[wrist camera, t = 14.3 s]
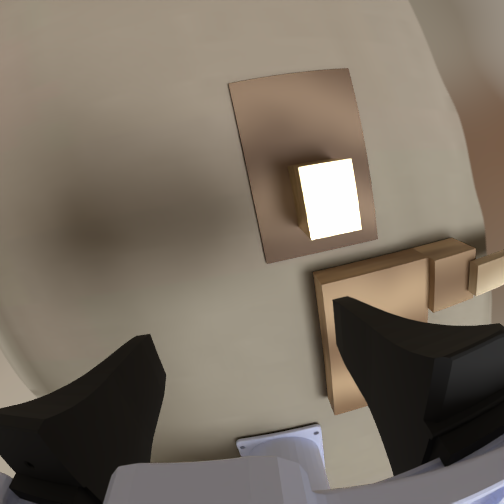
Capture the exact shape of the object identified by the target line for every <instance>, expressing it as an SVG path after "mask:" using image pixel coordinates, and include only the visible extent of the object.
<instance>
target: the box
mask: <svg viewBox="0 0 504 504" xmlns="http://www.w3.org/2000/svg"><path fill="white" fill-rule="evenodd" d="M475 259H476V248H474V247H471V246H469V245H467V244H465V243H463V242H460V241H458V240H456V239H453V238H449V239H445V240H441V241H437V242H434V243H430V244H426V245H422V246H418V247H414V248H410V249H406V250H402V251H399V252H395V253H391V254H387V255H382V256H378V257H374V258H370V259H366V260H362V261H358V262H354V263H349V264H345V265H341V266H337V267H332V268H328V269H324V270H319V271H315V272H313V277H314V284H315V291H316V299H317V306H318V313H319V321H320V329H321V337H322V346H323V354H324V363H325V373H326V383H327V393H328V399H329V401H330V404H331V407H332V409H333V412H334V415H338V414H341V413H345V412H348V411H352V410H355V409H358V408H362V407H365V406H368V404H367V403H366V401H365V399H364V397H363V395H362V394H361V392H360V390H359V389H358V387H357V385H356V383H355V382H354V380H353V378H352V376H351V375H350V373H349V371H348V370H347V368H346V366H345V364H344V362H343V360H342V357H341V355H340V352H339V350H338V347H337V345H336V335H335V323H334V312H333V301H332V300H333V299H337V298H341V297H345V296H349V297H352V298H354V299H357V300H359V301H362V302H364V303H366V304H369V305H371V306H373V307H376V308H378V309H381V310H383V311H386V312H389V313H391V314H394V315H397V316H401V317H404V318H407V319H411V320H416V321H420V322H425V323H427V320H428V308H429V309H430V310H431V311H432V312H433V313H434V312H437V311H440V310H442V309H445V308H448V307H450V306H453V305H456V304H458V303H461V302H463V301H466V300H468V299H471V298H473V294H472V293H470V292H469V291H468V287H469V272H470V261H473V260H475Z"/></svg>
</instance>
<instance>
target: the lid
mask: <svg viewBox="0 0 504 504" xmlns="http://www.w3.org/2000/svg"><path fill="white" fill-rule="evenodd" d="M229 88H230V93H231V97H232V102H233V106H234V111H235V116H236V120H237V125H238V129H239V134H240V139H241V143H242V148H243V152H244V157H245V162H246V167H247V171H248V176H249V181H250V185H251V190H252V195H253V200H254V204H255V209H256V214H257V219H258V223H259V228H260V233H261V238H262V243H263V248H264V252H265V257H266V262H267V264H269V263H273V262H278V261H282V260H287V259H291V258H296V257H300V256H305V255H310V254H314V253H319V252H323V251H327V250H332V249H336V248H341V247H345V246H350V245H354V244H358V243H363V242H367V241H372V240H376V239H378V236H377V226H376V217H375V208H374V200H373V192H372V185H371V178H370V172H369V165H368V159H367V153H366V147H365V142H364V136H363V131H362V126H361V121H360V116H359V112H358V107H357V102H356V98H355V94H354V89H353V85H352V81H351V77H350V73H349V69H348V68H345V69H330V70H318V71H308V72H298V73H290V74H283V75H275V76H269V77H262V78H256V79H250V80H245V81H239V82H234V83H229Z"/></svg>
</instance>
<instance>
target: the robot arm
mask: <svg viewBox="0 0 504 504" xmlns="http://www.w3.org/2000/svg"><path fill="white" fill-rule="evenodd" d="M332 301H333V312H334V323H335V335H336V345H337V347H338V350H339V352H340V355H341V357H342V360H343V362H344V364H345V366H346V368H347V370H348V371H349V373H350V375H351V376H352V378H353V380H354V382H355V383H356V385H357V387H358V389H359V390H360V392H361V394H362V395H363V397H364V399H365V401H366V403H367V404H368V406H369V408H370V411H371V413H372V415H373V418H374V420H375V423H376V425H377V428H378V431H379V433H380V436H381V439H382V441H383V444H384V447H385V450H386V453H387V456H388V459H389V462H390V465H391V468H392V471H393V475H394V476H393V477H391V478H388V479H385V480H382V481H380V482H377V483H373V484H367V485H361V486H354V487H346V488H337V489H330V486H329V482H328V479H327V475H326V471H325V462H324V452H323V442H322V433H321V427H320V425H319V424H314V425H310V426H305V427H301V428H297V429H292V430H287V431H282V432H277V433H272V434H267V435H261V436H255V437H249V438H242V439H238V440H237V441H236V445H237V448H238V450H239V452H240V455H241V457H238V458H230V459H220V460H209V461H196V462H176V463H150V458H151V448H152V442H153V437H154V433H155V429H156V425H157V421H158V417H159V413H160V409H161V405H162V401H163V397H164V391H165V381H166V373H165V371H164V369H163V366H162V364H161V361H160V359H159V356H158V354H157V351H156V349H155V346H154V343H153V341H152V338H151V335H150V334H147V335H140V336H136V337H134V338H132V339H131V340H129V341H128V342H127V343H125V344H124V345H123V346H121V347H120V348H119V349H118V350H116V351H115V352H114V353H113V354H111V355H110V356H109V357H108V358H106V359H105V360H104V361H103V362H101V363H100V364H98V365H97V366H96V367H94V368H93V369H92V370H90V371H89V372H88V373H86V374H85V375H83V376H82V377H80V378H78V379H77V380H75V381H73V382H72V383H70V384H68V385H66V386H64V387H62V388H60V389H58V390H56V391H54V392H52V393H50V394H48V395H45V396H43V397H40V398H37V399H34V400H32V401H29V402H26V403H22V404H18V405H14V406H9V407H5V408H1V409H0V455H1V457H2V458H3V459H4V460H5V461H6V462H7V464H8V465H9V466H10V467H11V468H12V469H13V470H14V471H15V472H16V474H15V476H14V478H11V477H10V476H8V475H6V474H4V473H1V472H0V504H504V326H502V325H501V324H489V325H478V326H450V325H440V324H431V323H425V322H420V321H416V320H411V319H407V318H404V317H401V316H397V315H394V314H391V313H389V312H386V311H383V310H381V309H378V308H376V307H373V306H371V305H369V304H366V303H364V302H362V301H359V300H357V299H354V298H352V297H349V296H345V297H341V298H337V299H333V300H332ZM316 431H317V432H316Z"/></svg>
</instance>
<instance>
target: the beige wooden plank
mask: <svg viewBox="0 0 504 504" xmlns="http://www.w3.org/2000/svg"><path fill="white" fill-rule="evenodd" d="M502 285H504V250H501V251H499V252H496V253H493V254H490V255H487V256H484V257H481V258H478V259H476V260H473V261H470V272H469V287H468V291H469V292H470V293H472V294H473V295H475V296H478V295H480V294H483V293H485V292H488V291H490V290H492V289H495V288H497V287H499V286H502Z"/></svg>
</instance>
